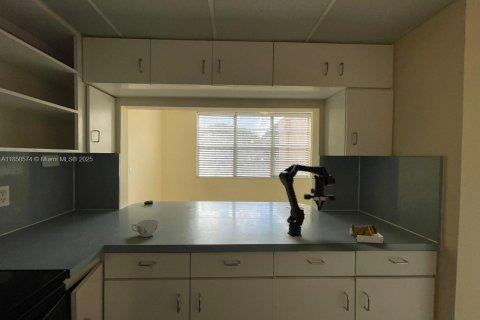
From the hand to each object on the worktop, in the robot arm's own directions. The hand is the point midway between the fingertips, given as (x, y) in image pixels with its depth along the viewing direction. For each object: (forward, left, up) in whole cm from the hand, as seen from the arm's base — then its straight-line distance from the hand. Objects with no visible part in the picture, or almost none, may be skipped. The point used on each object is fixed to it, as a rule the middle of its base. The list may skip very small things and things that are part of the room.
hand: (318, 210), depth 162 cm
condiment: (+12, -16, -9) cm, 22 cm away
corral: (+19, -18, -13) cm, 30 cm away
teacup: (-104, +18, -13) cm, 106 cm away
